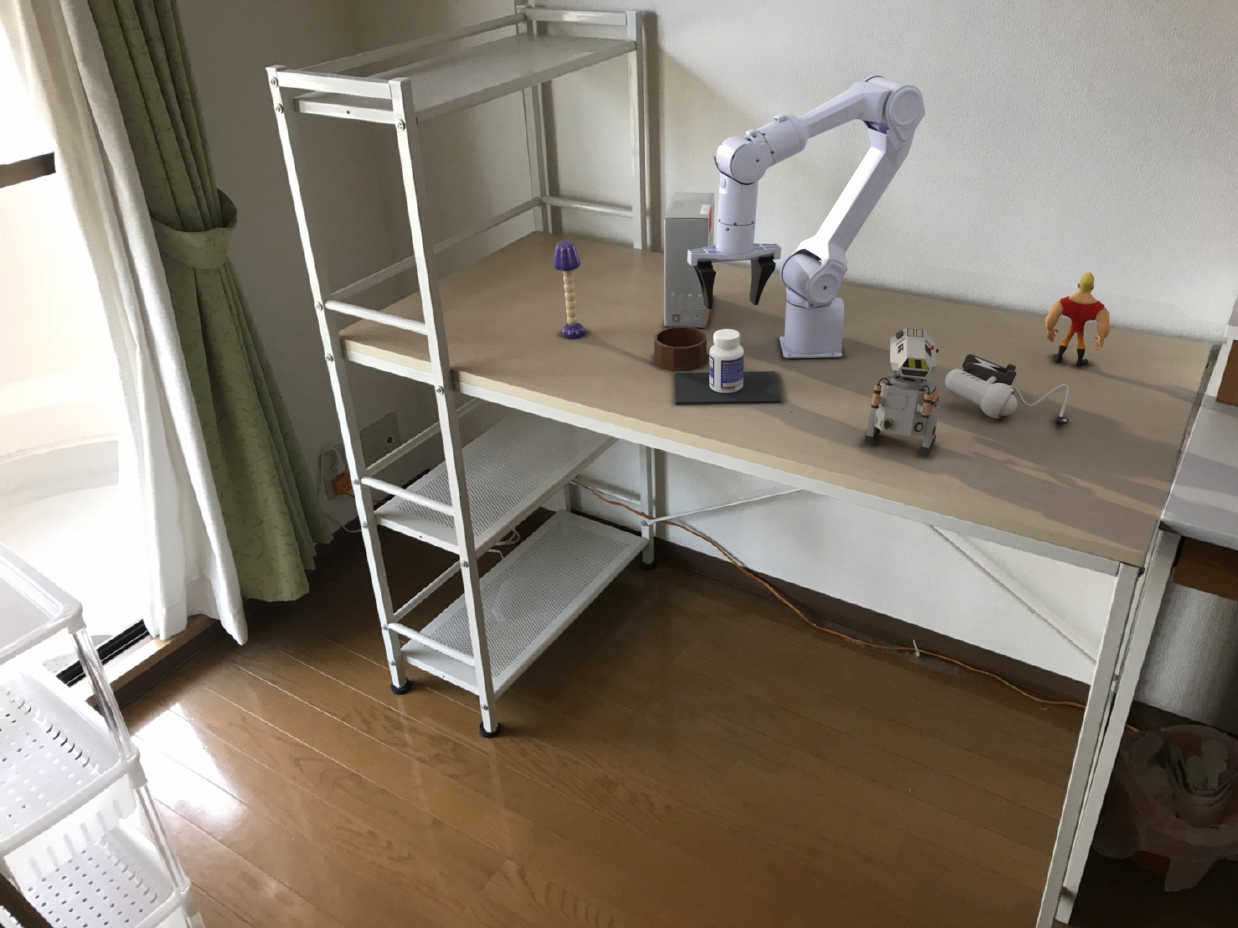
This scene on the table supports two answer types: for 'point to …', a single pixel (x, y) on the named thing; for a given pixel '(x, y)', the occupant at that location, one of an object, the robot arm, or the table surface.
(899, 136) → the robot arm
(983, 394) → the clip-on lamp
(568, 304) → the toy lamp
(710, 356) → the pill bottle
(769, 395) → the mat
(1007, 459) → the table surface
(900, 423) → the figurine
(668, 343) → the brown bowl
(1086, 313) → the action figure
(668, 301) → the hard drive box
